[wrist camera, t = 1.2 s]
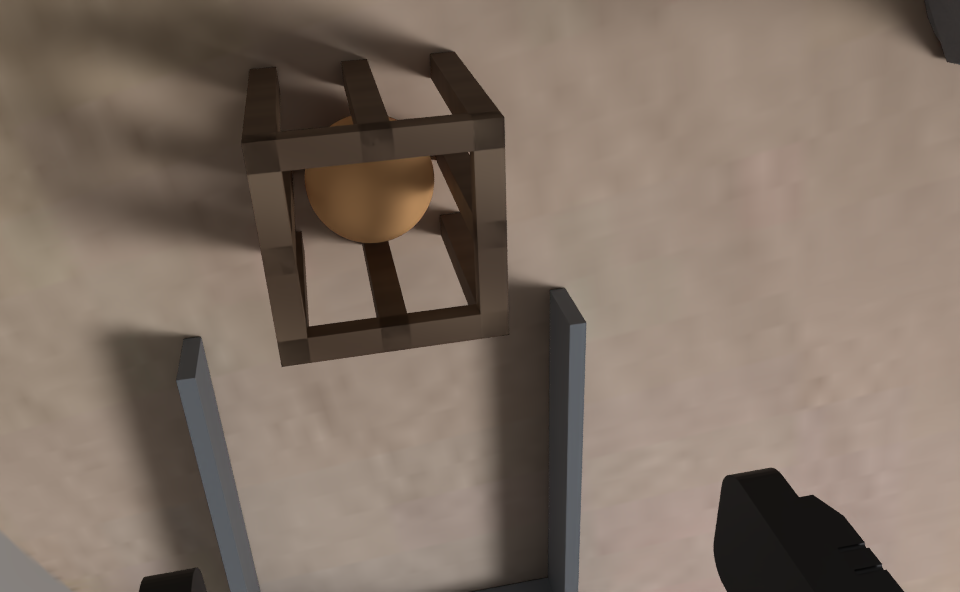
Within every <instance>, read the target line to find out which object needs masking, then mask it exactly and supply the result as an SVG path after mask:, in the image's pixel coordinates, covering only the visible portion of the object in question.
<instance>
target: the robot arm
mask: <svg viewBox="0 0 960 592" xmlns="http://www.w3.org/2000/svg"><path fill="white" fill-rule="evenodd" d="M714 558H715V563H716V567H717V571H718V574H719V576H720V579H721V581H722V583H723V585H724V587H725V589H726V590H727V592H904V591H903V590H902V589H901V587H900V586H899V585H898V584H897V582H896V581H895V580H894V578H893V577H892V576H891V575H890V573H889V572H888V571H887V570H884V569H883V568H882V563H881V562H880V561H879V560H878V558H877V557H876V556H875V555H874V553H873V552H872V551H871V550H870V548H866V547H865V542H864V541H863V540H862V538H861V537H860V536H859V535H858V533H857V532H856V531H855V530H854V528H853V527H852V526H851V525H850V523H849V522H848V521H847V520H846V518H845V517H844V516H843V515H842V514H840V513H839V512H837V511H836V510H834V509H833V508H831V507H830V506H828V505H827V504H826V503H824V502H823V501H821V500H820V499H818V498H817V497H815V496H814V495H809V496H804V497H798V495H797V494H796V493H795V491H794V490H793V489H792V487H791V486H790V485H789V483H788V482H787V481H786V479H785V478H784V477H783V476H782V474H781V473H780V472H779V471H778V470H776V469H774V468H766V469H761V470H755V471H749V472H744V473H738V474H732V475H727V476H726V477H725V478H724V480H723V482H722V487H721V495H720V502H719V509H718V516H717V523H716V530H715V537H714ZM139 592H207V591H206V587H205V584H204V580H203V577H202V574H201V571H200V570H199V568H192V569H186V570H181V571H175V572H170V573H164V574H158V575H153V576H147V577H144V578H143V580H142V582H141V585H140V589H139Z"/></svg>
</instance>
